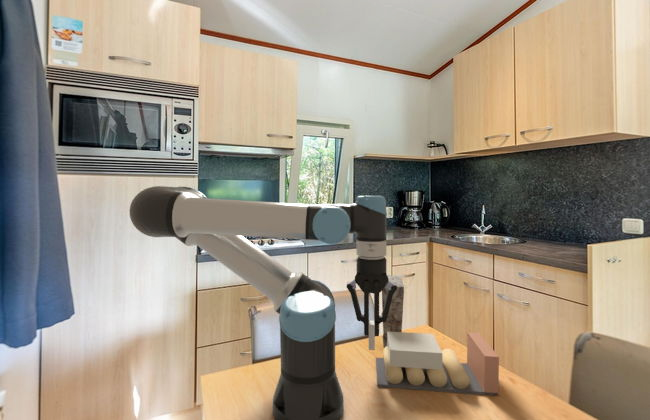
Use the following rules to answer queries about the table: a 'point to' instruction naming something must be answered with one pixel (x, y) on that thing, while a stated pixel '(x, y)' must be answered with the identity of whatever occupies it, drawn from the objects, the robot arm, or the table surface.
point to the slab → (414, 350)
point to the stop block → (483, 362)
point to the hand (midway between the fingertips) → (371, 347)
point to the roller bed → (427, 383)
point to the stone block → (393, 308)
